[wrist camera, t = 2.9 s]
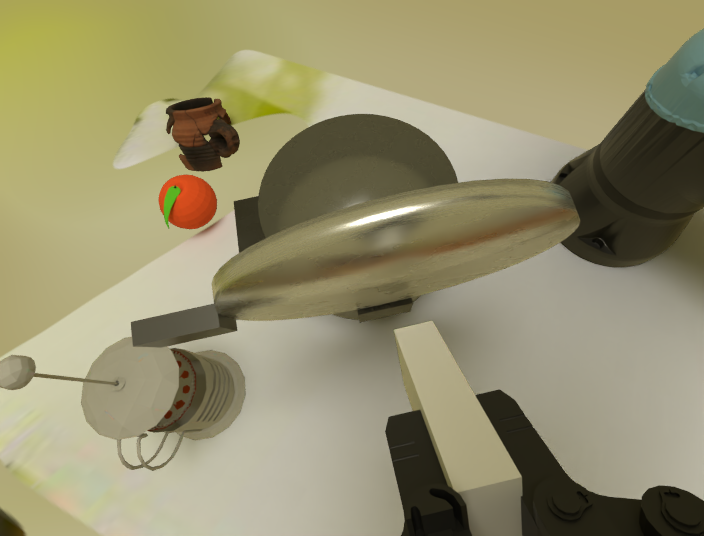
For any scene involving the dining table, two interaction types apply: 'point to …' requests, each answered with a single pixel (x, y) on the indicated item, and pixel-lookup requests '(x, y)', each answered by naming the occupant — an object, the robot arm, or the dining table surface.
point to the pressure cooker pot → (342, 180)
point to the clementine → (187, 202)
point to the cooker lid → (376, 255)
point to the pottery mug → (202, 133)
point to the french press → (150, 392)
